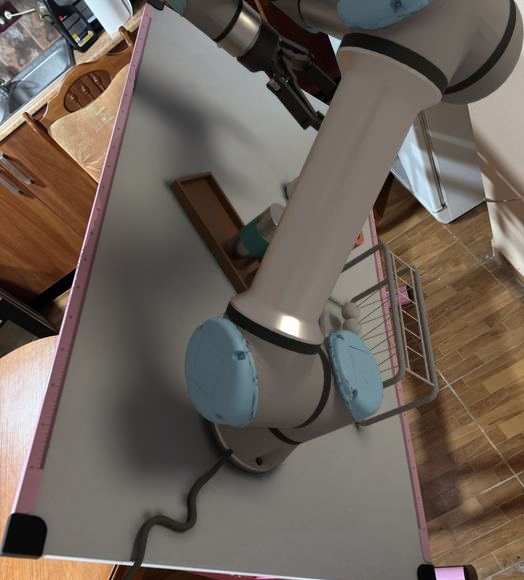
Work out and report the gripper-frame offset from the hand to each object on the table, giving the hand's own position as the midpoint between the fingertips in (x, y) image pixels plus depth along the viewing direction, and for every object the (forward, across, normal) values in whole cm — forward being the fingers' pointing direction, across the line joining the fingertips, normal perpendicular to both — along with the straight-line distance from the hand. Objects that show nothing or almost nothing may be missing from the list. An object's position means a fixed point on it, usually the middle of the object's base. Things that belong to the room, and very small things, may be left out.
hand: (334, 112), depth 104 cm
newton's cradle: (+19, +36, -20) cm, 45 cm away
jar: (+14, +14, -20) cm, 28 cm away
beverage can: (+10, 0, -20) cm, 23 cm away
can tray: (-9, +24, -20) cm, 33 cm away
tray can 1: (-7, +26, -20) cm, 33 cm away
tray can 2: (-2, +30, -20) cm, 36 cm away
